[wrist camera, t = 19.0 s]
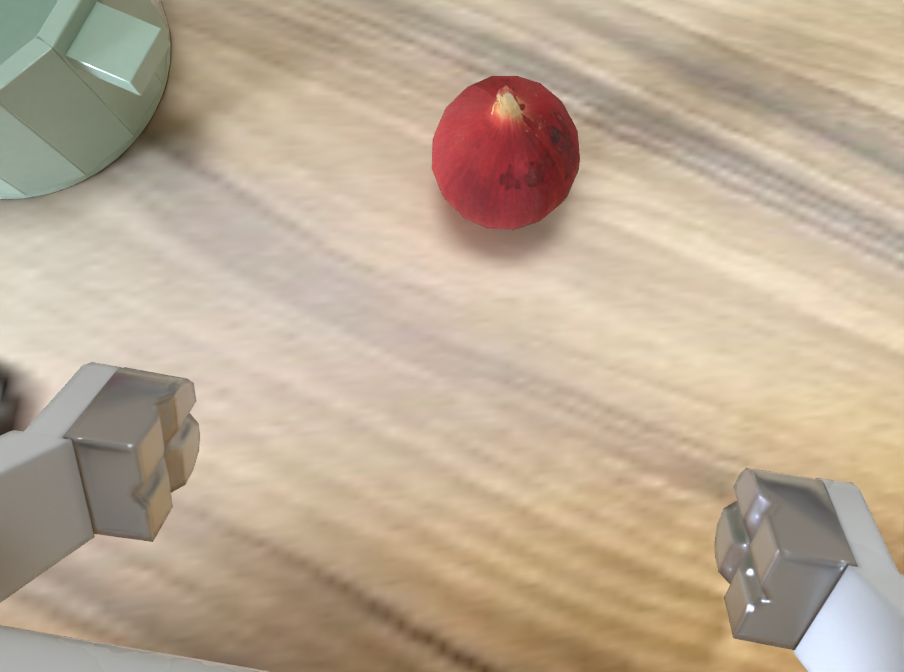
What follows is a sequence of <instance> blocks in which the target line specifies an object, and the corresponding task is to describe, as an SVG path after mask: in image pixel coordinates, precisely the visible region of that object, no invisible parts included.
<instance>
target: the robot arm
mask: <svg viewBox="0 0 904 672" xmlns="http://www.w3.org/2000/svg"><path fill="white" fill-rule="evenodd" d="M195 402H196V395H195V389H194V383H193V382H191V381H190V380H189V379H186V378H180V377H175V376H169V375H164V374H158V373H153V372H147V371H142V370H136V369H131V368H126V367H124V368H121V367H117V366H111V365H106V364H100V363H95V362H91V363H88V364H85V365H83V366H82V367H81V368H80V369H79V370H78V371H77V372H76V373H75V374H74V375H73V377H72V378H71V379H70V380H69V381H68V382H67V383H66V384H65V386H64V387H63V388H62V389H61V390H60V391H59V392H58V393H57V395H56V396H55V397H54V398H53V399H52V400H51V401H50V402H49V404H48V405H47V406H46V407H45V408H44V409H43V410H42V411H41V413H40V414H39V415H38V416H37V417H36V418H35V419H34V420H33V422H32V423H31V424H30V425H29V426H28V427H27V428H26V429H25V431H24V432H22V431H15V430H13V431H10V432H8V433H6V434H3V435H1V436H0V602H2V601H3V600H5V599H6V598H8V597H9V596H10V595H12V594H13V593H15V592H16V591H18V590H19V589H20V588H22V587H23V586H25V585H26V584H28V583H29V582H30V581H32V580H33V579H35V578H36V577H38V576H39V575H41V574H42V573H43V572H45V571H46V570H48V569H49V568H51V567H52V566H53V565H55V564H56V563H58V562H59V561H61V560H62V559H63V558H65V557H66V556H68V555H69V554H71V553H72V552H74V551H75V550H76V549H78V548H79V547H81V546H82V545H84V544H85V543H86V542H88V541H89V540H91V539H92V538H94V534H100V535H108V536H115V537H122V538H129V539H137V540H144V541H151V542H153V541H154V539H155V537H156V535H157V534H158V532H159V530H160V528H161V527H162V525H163V523H164V521H165V520H166V518H167V516H168V514H169V513H170V511H171V509H172V507H173V505H172V497H171V492H173V491H175V490H177V489H178V488H180V487H182V486H184V485H185V484H186V482H187V481H188V479H189V477H190V475H191V473H192V471H193V469H194V466H195V462H196V459H197V456H198V452H199V442H200V431H199V423H198V422H197V421H196V420H195V419H194V418H193V416H192V415H191V414H190V413H189V412H190V410H191V409H192V407H193V405H194V404H195ZM734 490H735V494H736V497H737V501H735V502H734V503H732V504H730V505H729V506H727V507H725V508H724V509H723V512H722V514H721V517H720V519H719V522H718V524H717V530H716V537H715V558H716V563H717V568H718V572H719V573H720V574H721V575H722V576H723V577H724V578H725V579H726V580H727V582H728V583H729V584H730V586H729V589H728V591H727V593H726V595H725V597H724V600H725V604H726V608H727V613H728V617H729V622H730V626H731V630H732V635H733V638H735V639H740V640H745V641H750V642H755V643H761V644H766V645H771V646H776V647H781V648H786V649H792V650H795V651H794V654H795V655H796V657H797V658H798V659H799V661H800V662H801V663H802V664H803V666H804V667H805V668H806V670H807V671H808V672H904V575H903V574H899V572H898V569H897V567H896V565H895V563H894V561H893V559H892V557H891V555H890V553H889V550H888V548H887V546H886V544H885V542H884V540H883V538H882V536H881V533H880V531H879V529H878V527H877V525H876V523H875V521H874V519H873V517H872V514H871V512H870V510H869V508H868V506H867V504H866V502H865V500H864V497H863V495H862V493H861V491H860V489H859V488H858V487H857V486H856V485H855V484H853V483H851V482H844V481H836V480H829V479H822V478H811V477H804V476H798V475H791V474H784V473H778V472H771V471H765V470H758V469H752V468H745V469H744V470H743V471H742V472H741V473H740V475H739V477H738V479H737V481H736V483H735V485H734ZM0 672H270V671H264V670H259V669H253V668H247V667H241V666H235V665H229V664H224V663H218V662H212V661H206V660H200V659H195V658H189V657H183V656H177V655H171V654H165V653H160V652H154V651H148V650H142V649H136V648H130V647H124V646H119V645H113V644H107V643H101V642H95V641H89V640H83V639H77V638H72V637H66V636H60V635H54V634H48V633H42V632H36V631H31V630H25V629H19V628H13V627H7V626H1V625H0Z"/></svg>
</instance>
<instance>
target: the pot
mask: <svg viewBox="0 0 904 672" xmlns="http://www.w3.org/2000/svg"><path fill="white" fill-rule="evenodd" d="M170 51H171V43H170V34H169V27H168V23H167V19H166V15H165V11H164V9H163V7H162V4H161V2H160V0H0V199H18V198H28V197H35V196H41V195H46V194H49V193H53V192H56V191H60V190H63V189H65V188H68V187H70V186H73V185H75V184H77V183H80V182H82V181H84V180H86V179H87V178H89V177H91V176H93V175H94V174H96V173H98V172H100V171H101V170H102V169H104V168H105V167H107V166H108V165H109V164H111V163H112V162H113V161H115V160H116V159H117V158H118V157H119V156H120V155H121V154H122V153H124V152H125V151H126V150H127V149H128V148H129V147H130V146H131V145H132V144H133V142H134V141H135V140H136V139H137V138H138V136H139V135H140V134H141V133H142V132H143V130H144V129H145V127H146V126H147V124H148V122H149V121H150V119H151V118H152V116H153V115H154V113H155V110H156V108H157V106H158V104H159V102H160V100H161V98H162V95H163V91H164V88H165V85H166V82H167V78H168V72H169V66H170Z"/></svg>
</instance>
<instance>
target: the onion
mask: <svg viewBox="0 0 904 672" xmlns="http://www.w3.org/2000/svg"><path fill="white" fill-rule="evenodd" d="M579 163H580V155H579V143H578V131H577V129H576V127H575V125H574V123H573V121H572V119H571V117H570V116H569V114H568V112H567V110H566V108H565V107H564V105H563V103H562V102H561V101H560V100H559V99H558V98H557V97H556V96H555V95H554V94H552V93H551V92H550V91H549V90H548V89H546V88H545V87H544V86H543V85H542V84H540V83H538V82H534V81H531V80H528V79H525V78H522V77H519V76H491V77H489V78H487V79H484V80H482V81H480V82H478V83H475V84H473V85H471V86H469V87H467V88H466V89H465V90H464V91H463V92H462V93H461V94H460V95H459V96H458V97H457V98H456V99H455V100H454V101H453V102H452V103H451V104H449V105H448V106H447V107H446V109H445V111H444V113H443V116H442V118H441V120H440V123H439V125H438V127H437V130H436V132H435V135H434V138H433V148H432V170H433V172H434V175H435V177H436V180H437V182H438V185H439V188H440V190H441V193H442V195H443V197H444V198H445V199H446V200H447V201H448V202H449V203H450V204H451V205H452V206H453V207H454V208H455V209H456V210H457V211H458V212H459V213H460V214H461V215H462V216H463V217H464V218H465V219H468V220H470V221H472V222H475V223H477V224H479V225H482V226H484V227H486V228H494V229H511V230H514V229H517V228H520V227H523V226H527V225H530V224H533V223H536V222H539V221H541V220H542V219H543V218H544V217H545V216H547V215H548V214H549V213H550V212H552V211H553V210H554V209H555V208H556V207H558V206H559V205H560V204H561V203H562V202H563V201H564V200H565V199H566V197H567V196H568V193H569V191H570V189H571V186H572V184H573V181H574V179H575V177H576V174H577V172H578V170H579Z"/></svg>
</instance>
